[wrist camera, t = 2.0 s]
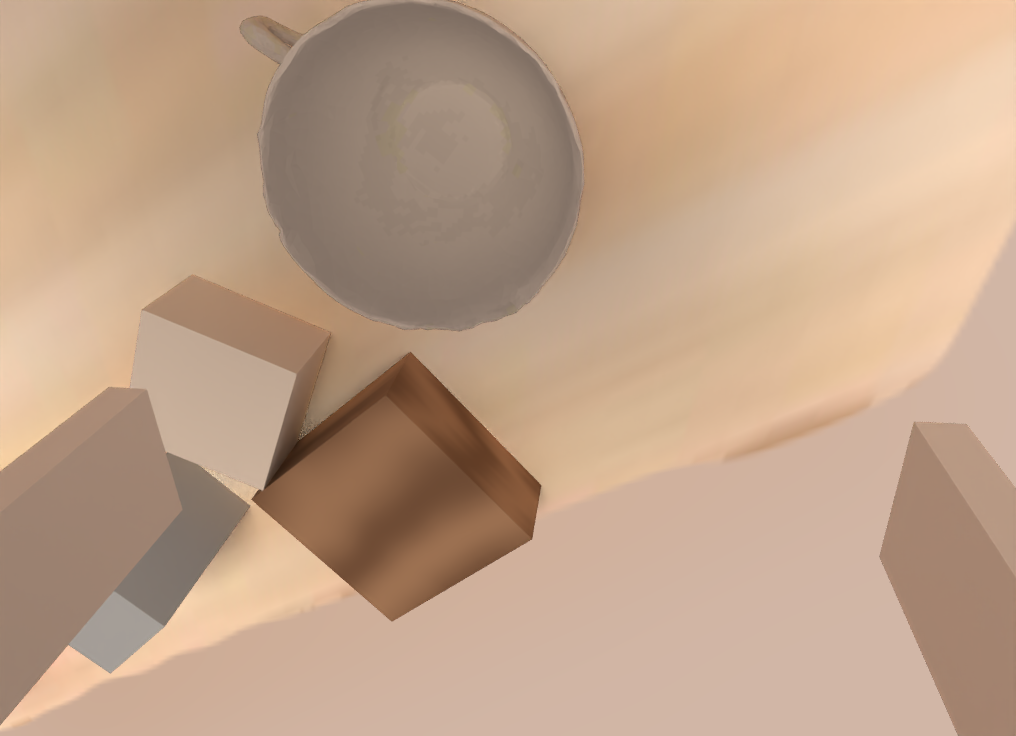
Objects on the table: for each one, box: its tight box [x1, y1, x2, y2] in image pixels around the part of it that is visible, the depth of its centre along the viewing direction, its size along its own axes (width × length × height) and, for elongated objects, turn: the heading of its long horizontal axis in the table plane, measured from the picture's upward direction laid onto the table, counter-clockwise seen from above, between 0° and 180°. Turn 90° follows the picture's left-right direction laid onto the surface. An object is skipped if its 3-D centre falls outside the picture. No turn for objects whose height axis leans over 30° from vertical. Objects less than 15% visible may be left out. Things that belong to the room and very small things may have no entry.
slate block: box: [69, 452, 250, 674], centre depth 43 cm, size 6×6×10 cm
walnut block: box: [252, 352, 541, 621], centre depth 42 cm, size 11×11×5 cm
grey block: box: [130, 275, 331, 491], centre depth 40 cm, size 8×8×5 cm
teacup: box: [240, 0, 584, 331], centre depth 31 cm, size 15×12×8 cm
